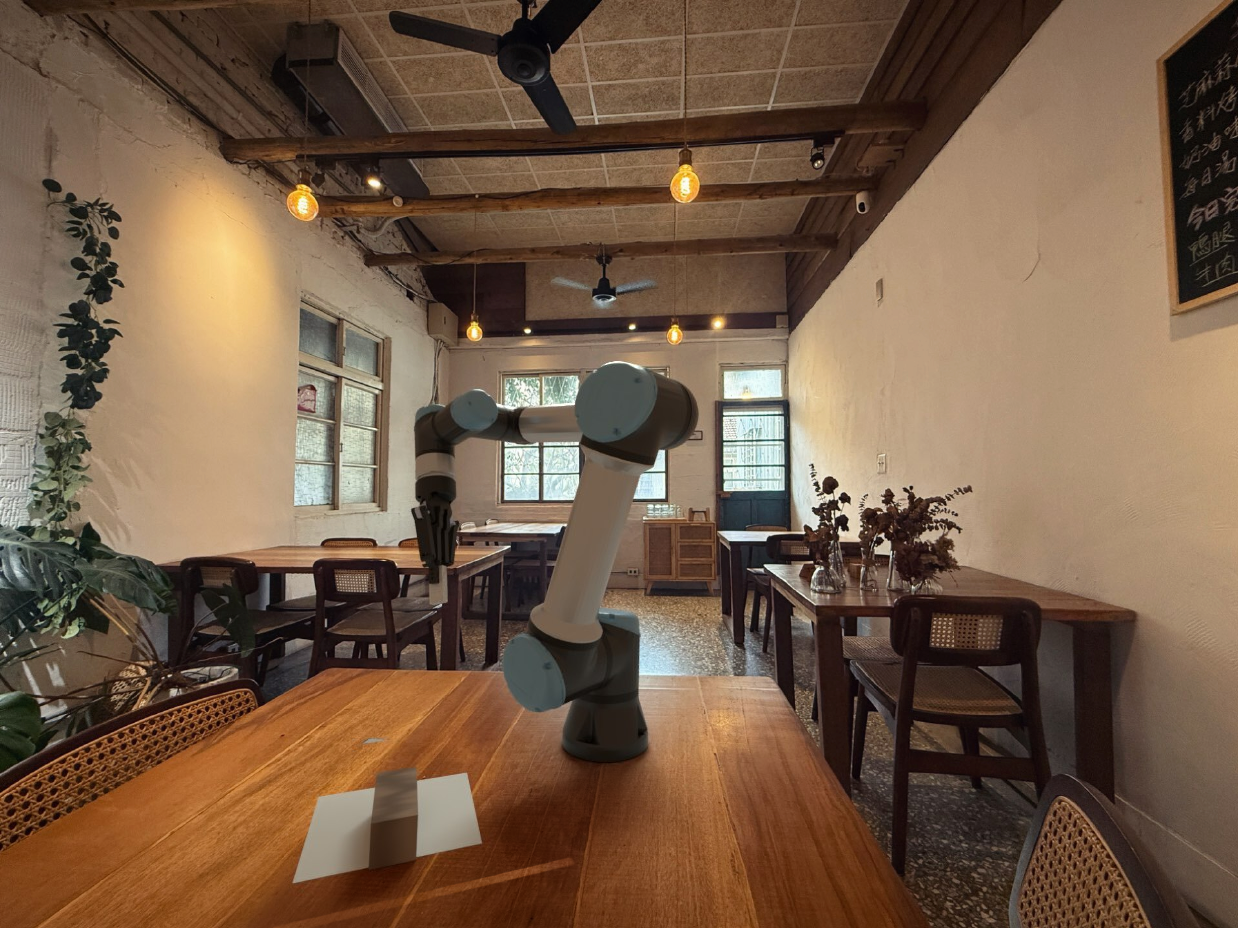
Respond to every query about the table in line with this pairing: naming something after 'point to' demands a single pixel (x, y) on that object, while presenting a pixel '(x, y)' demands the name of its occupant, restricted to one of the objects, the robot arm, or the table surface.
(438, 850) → the mat
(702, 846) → the table surface
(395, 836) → the walnut block
